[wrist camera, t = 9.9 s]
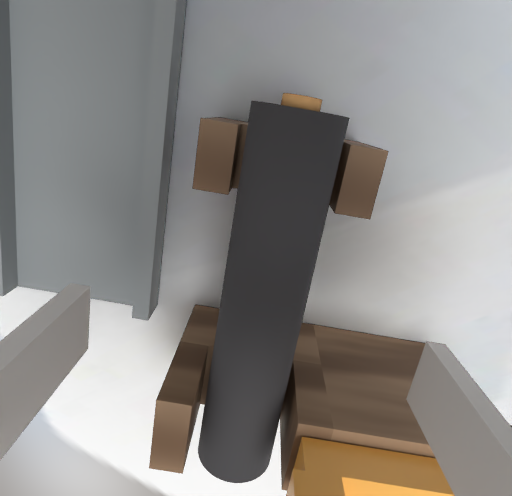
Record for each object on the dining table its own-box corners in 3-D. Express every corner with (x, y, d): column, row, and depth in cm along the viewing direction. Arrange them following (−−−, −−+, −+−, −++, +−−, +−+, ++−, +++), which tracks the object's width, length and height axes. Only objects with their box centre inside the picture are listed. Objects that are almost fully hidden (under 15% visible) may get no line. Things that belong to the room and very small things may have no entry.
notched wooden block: (195, 304, 26) (156, 400, 17) (430, 344, 27) (508, 457, 18) (188, 355, 28) (149, 468, 19) (412, 392, 28) (478, 521, 19)
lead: (255, 90, 18) (250, 84, 14) (342, 106, 18) (362, 104, 14) (203, 424, 24) (190, 483, 20) (268, 435, 24) (268, 495, 20)
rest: (219, 117, 22) (200, 118, 16) (357, 141, 23) (388, 151, 17) (212, 170, 23) (192, 188, 17) (345, 192, 24) (370, 219, 18)
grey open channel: (-7, -106, 20) (-39, -131, 18) (193, -69, 20) (184, -90, 18) (8, 279, 26) (-14, 293, 24) (157, 304, 26) (147, 320, 24)
